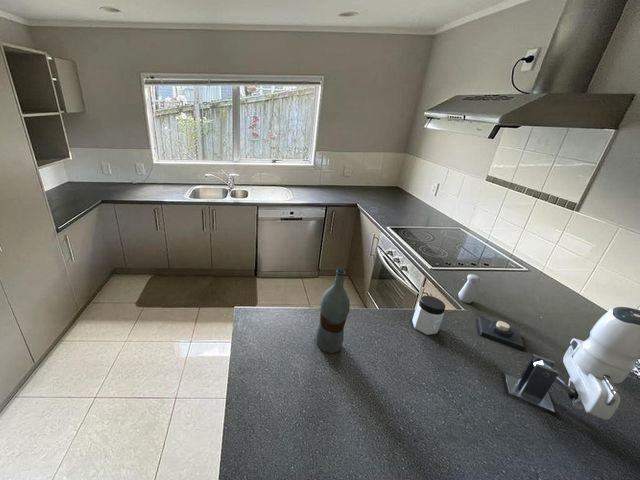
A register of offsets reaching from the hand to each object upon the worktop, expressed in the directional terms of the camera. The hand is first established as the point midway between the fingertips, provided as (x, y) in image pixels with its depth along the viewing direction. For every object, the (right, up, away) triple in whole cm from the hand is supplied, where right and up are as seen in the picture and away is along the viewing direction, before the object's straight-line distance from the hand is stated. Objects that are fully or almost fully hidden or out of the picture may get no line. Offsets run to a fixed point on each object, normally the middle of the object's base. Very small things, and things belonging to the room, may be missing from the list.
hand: (573, 399), depth 77 cm
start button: (+4, +10, +27) cm, 29 cm away
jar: (-23, +9, +31) cm, 39 cm away
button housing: (+4, +7, +28) cm, 29 cm away
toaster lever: (-4, +4, +1) cm, 5 cm away
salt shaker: (+5, +14, +47) cm, 50 cm away
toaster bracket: (-7, -2, +6) cm, 9 cm away
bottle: (-63, +6, +21) cm, 66 cm away
